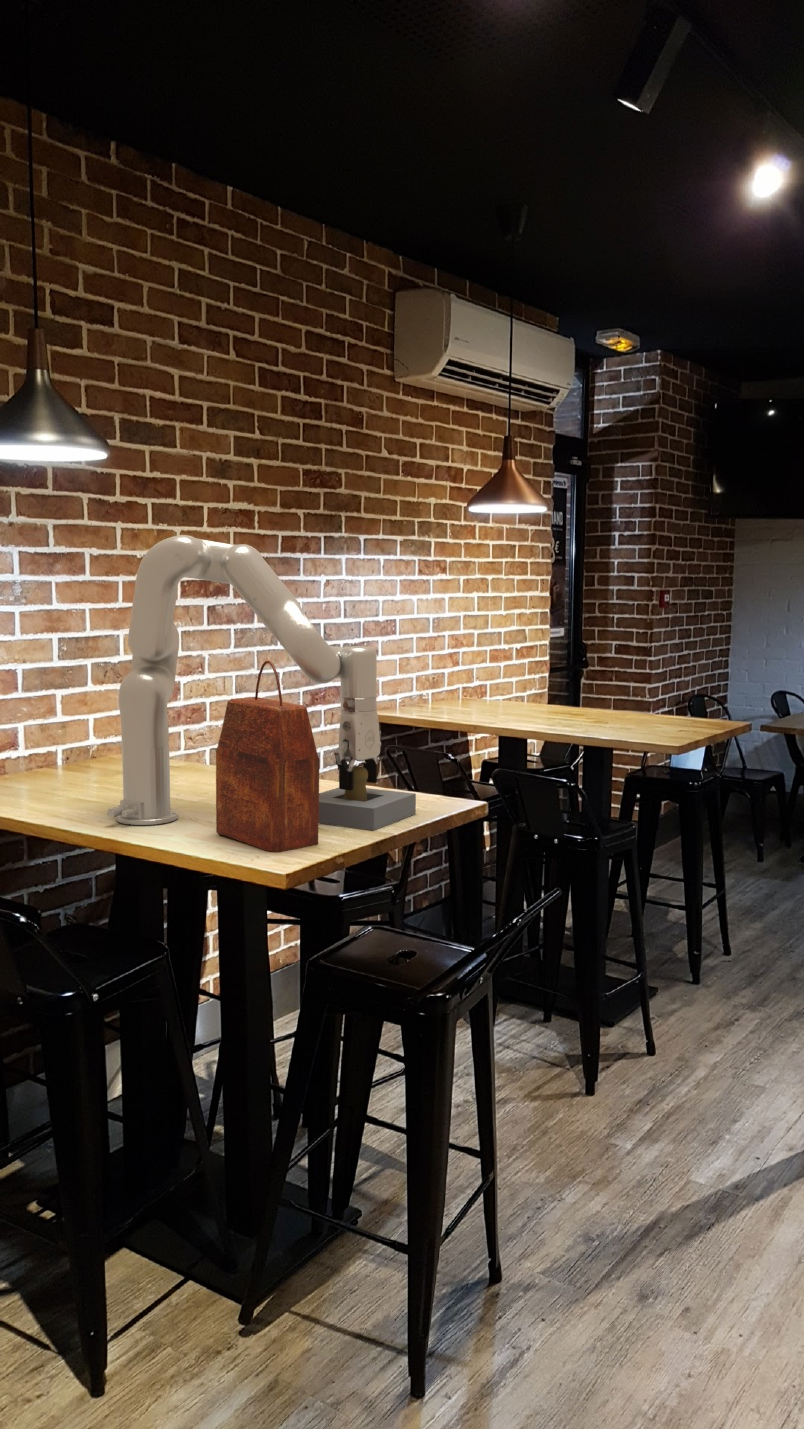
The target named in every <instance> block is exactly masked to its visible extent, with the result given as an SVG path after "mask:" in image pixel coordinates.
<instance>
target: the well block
mask: <svg viewBox="0 0 804 1429" xmlns="http://www.w3.org/2000/svg"><path fill="white" fill-rule="evenodd" d="M366 792H367V800H368V801H366V802H363V801H355V800H346V799H344V794H345V790H343V789H340V788H339V787H335V788H332V789H328V790H326V791H321V792H319V824H321V825H329V826H337V827H344V828H352V829H358V830H366V831H377V830H378V829H381V827H382V828H384V827H386V826H389V825H392V824H393V823H397V822H399V821H402V820H404V818H405V819H407V818H410V817H412V816H414V815H416V814H417V812H416V811H417V808H416V805H417V804H416V803H417V800H416V798H417V795H416V793H415V792H414V793H413V792H406V791H405V792H404V791H395V790H385V789H377V788H368V787H366ZM411 815H412V816H411Z"/></svg>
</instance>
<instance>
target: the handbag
mask: <svg viewBox="0 0 804 1429" xmlns="http://www.w3.org/2000/svg"><path fill="white" fill-rule="evenodd" d="M267 664H269V665H270V667H271V668H272V670H273V674H274V676H275V681H276V686H277V692H278V699H279V700H275V699H269V698H264V697H259V696H258V695H259V688H260V682H261V677H262V673H263V670H264V667H265V666H266V665H267ZM255 686H256V687H255V696H254V697H241V698H239V697H238V698H231V699H230V700H229V699H228V701H227V703H226V706H225V707H226V709H225V713H224V717H223V722H222V726H221V732H220V735H219V740H218V744H217V746H216V749H215V797H216V798H215V803H216V804H215V807H216V808H215V812H216V813H215V815H216V816H215V817H216V818H215V827H216V829H215V833H216V834H218V835H219V836H224V837H225V836H226V837H227V838H230V839H234V840H237V841H240V842H242V843H245V844H248V845H251V846H253V847H256V848H258V849H262V850H265V851H267V852H275V853H280V852H285V851H290V850H294V849H295V850H296V849H300V848H305V847H310V846H317V845H319V824H320V823H319V793H320V761H321V760H320V757H319V754H318V751H317V747H316V742H315V737H314V732H313V729H312V725H311V724H312V723H311V720H310V717H309V716H310V715H309V712H308V708H307V707H306V706H305V705H303V704H298V703H292V702H291V703H290V702H286V701H283V696H282V690H281V684H280V679H279V675H278V671H277V669H276V667H275V664H273V662H272V661H271V660H264V662H263V663H262V665H261V667H260V669H259V672H258V675H257V681H256V685H255Z"/></svg>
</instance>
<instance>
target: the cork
mask: <svg viewBox="0 0 804 1429" xmlns="http://www.w3.org/2000/svg"><path fill="white" fill-rule="evenodd" d="M351 771H354V788H353V790H345V794H344V799H346V800H355V801H363V802H366V801H368V800H367V792H366V788H367V785H366V783H367V782H366V781H367V779H368V772H367V770H366V768H364V767H363V766H358V765H353V767H352V770H351Z"/></svg>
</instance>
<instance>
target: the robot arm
mask: <svg viewBox="0 0 804 1429" xmlns="http://www.w3.org/2000/svg"><path fill="white" fill-rule="evenodd" d="M135 578H136V579H135V584H134V590H133V591H134V593H133V598H132V605H131V613H130V622H129V627H128V628H129V629H128V635H127V645H128V649H129V650H130V653H132V658H131V666H130V667H131V668H130V672H129V673H128V674H126V675H125V677H124V678H123V679H122V681H121V683H120V686H119V690H118V707H119V708H118V709H119V717H120V729H121V731H120V732H121V754H122V755H121V757H122V758H121V759H122V790H123V791H122V794H123V796H122V797H123V799H121V800H120V801H119V805H118V806H114V807H111V808H108V809H107V811H106V813H107V816H108V817H109V818H110V819H113V818H115V820H116V822H118V823H120V824H124V825H129V824H130V825H132V826H153V825H161V824H166V823H171V822H174V821H176V820H177V819H178V818H179V812H178V811H177V810H176V809H172V808H171V778H170V777H171V772H170V768H171V767H170V736H169V735H170V734H169V733H170V730H169V714H168V702H169V701H171V699H172V696H173V694H174V691H175V683H176V676H177V674H176V673H177V665H178V655H179V647H180V634H179V631H178V627H177V626H176V625H175V623H174V619H175V608H176V603H177V592H178V585H179V584H180V581H181V580H183V579H184V578H185V579H186V578H189V579H196V580H201V581H202V580H203V581H209V582H215V583H222V584H229V585H231V586H232V587H233V589H234V590H236V592H237V594H238V595H239V596H241V598H242V599H243V601H244V602H245V603H246V604H247V606H249V608H250V609H251V610H252V612H253V613H254V614H255V615H256V617H257V618H258V619H259V620H260V621H261V623H262V624H263V625H264V626H265V628H266V629H267V631H268V632H269V633H270V634H271V635H272V636H273V637H274V638H275V639H276V640H277V642H278V643H279V644H280V645H281V647H282V648H283V649H284V650H285V651H286V653H287V654H288V655H289V657H290V658H291V659H292V660H293V661H294V662H295V664H297V666H298V668H300V669H301V672H303V674H304V675H305V676H306V677H307V679H309V680H310V681H311V682H314V683H316V684H328V683H331V682H332V681H334V680H335V679H340V713H341V714H340V720H339V721H340V722H339V730H338V747H337V748H336V749H335V751H334V752H333V754H334V758H335V763H336V766H337V771H338V788H340V789H343V790H353V788H354V771H351V770H352V767H353V766H355V762H356V761H357V762H363V763H362V767H364V768H366V770H367V772H368V779H367V781H366V782H365V783H372V784H376V783H377V782H378V763H379V756H380V754H381V746H382V742H381V736H380V722H379V721H380V720H379V714H378V710H377V681H378V680H377V676H378V675H377V673H378V672H377V671H378V670H377V668H378V666H377V664H378V663H377V659H378V658H377V651H376V650H375V648H374V647H372V646H366V645H365V646H364V645H359V646H358V645H356V646H355V645H352V646H346V647H343V646H334V645H330V644H329V643H328V642H327V641H326V640H325V639H324V637H323V636H322V635H321V633H319V631H318V629H317V628H316V627H315V626H314V624H313V623H312V622H311V621H310V619H309V618H308V616H307V615H306V613H305V612H304V610H303V608H302V606H301V605H300V603H299V601H298V600H297V598H296V597H295V595H294V594H293V593H292V591H290V589H289V588H288V587H287V586H286V584H285V583H284V582H283V581H282V580H281V578H280V577H279V576H278V575H277V574H276V572H275V571H274V570H273V568H272V567H271V566H270V565H269V564H268V562H267V561H266V560H265V559H264V558H263V555H262V554H261V553H260V552H259V550H258V549H256V548H254V546H251V545H249V544H246V543H243V544H242V543H241V544H233V543H225V542H221V541H220V542H218V541H213V540H207V539H203V538H197V537H194V536H192V535H187V534H179V535H174V536H171V537H168V538H165V539H162V540H161V541H158V542H157V543H156V544H154V545H153V546H152V547H151V548H149V550H147V552H146V553H145V554H144V556H143V557H142V559H141V561H140V563H139V565H138V569H137V572H136V577H135Z"/></svg>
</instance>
